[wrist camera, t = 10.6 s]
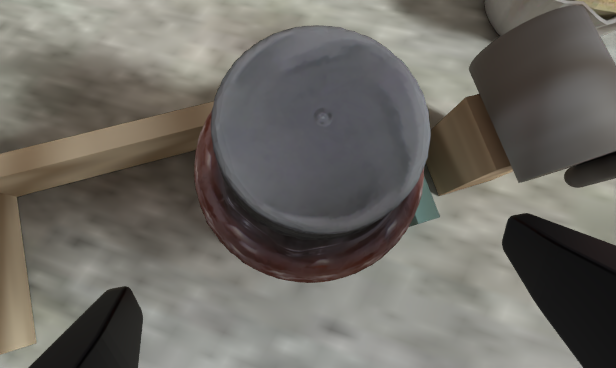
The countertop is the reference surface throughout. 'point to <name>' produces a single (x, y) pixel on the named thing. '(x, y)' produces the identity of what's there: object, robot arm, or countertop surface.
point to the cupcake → (531, 3)
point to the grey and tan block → (533, 108)
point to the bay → (81, 165)
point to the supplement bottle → (313, 154)
